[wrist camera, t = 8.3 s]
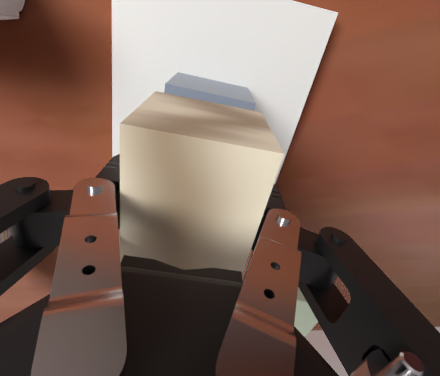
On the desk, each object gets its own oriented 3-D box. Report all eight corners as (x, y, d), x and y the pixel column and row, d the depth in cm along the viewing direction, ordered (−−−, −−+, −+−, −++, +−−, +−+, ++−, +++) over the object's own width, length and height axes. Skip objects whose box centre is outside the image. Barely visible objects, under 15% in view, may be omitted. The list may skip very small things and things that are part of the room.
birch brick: (261, 112, 12) (284, 154, 8) (229, 225, 16) (234, 296, 11) (155, 91, 12) (119, 123, 7) (147, 212, 15) (120, 282, 11)
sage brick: (315, 269, 31) (330, 307, 26) (288, 304, 34) (299, 343, 30) (276, 259, 30) (286, 297, 25) (253, 296, 33) (259, 335, 29)
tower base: (329, 14, 18) (381, 4, 12) (256, 220, 27) (266, 269, 21) (120, -41, 16) (67, -82, 10) (118, 196, 25) (89, 243, 19)
